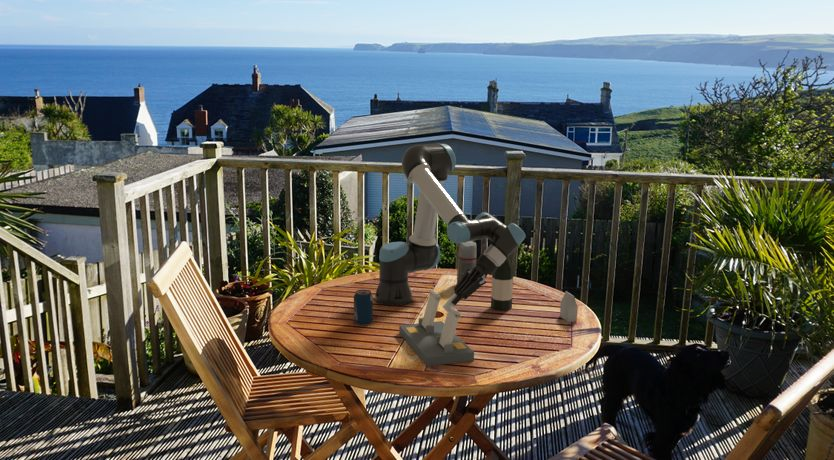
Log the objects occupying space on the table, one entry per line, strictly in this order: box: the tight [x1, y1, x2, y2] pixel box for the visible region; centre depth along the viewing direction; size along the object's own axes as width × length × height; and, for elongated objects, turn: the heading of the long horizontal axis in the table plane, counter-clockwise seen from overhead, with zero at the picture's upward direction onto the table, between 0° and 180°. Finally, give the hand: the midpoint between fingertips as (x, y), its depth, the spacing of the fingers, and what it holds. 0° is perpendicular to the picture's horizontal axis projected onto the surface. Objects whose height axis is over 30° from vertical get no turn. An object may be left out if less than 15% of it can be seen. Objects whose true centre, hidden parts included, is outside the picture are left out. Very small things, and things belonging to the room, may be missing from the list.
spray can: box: [456, 241, 478, 285], centre depth 299 cm, size 8×8×20 cm
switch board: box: [398, 317, 475, 367], centre depth 230 cm, size 16×30×6 cm, turn 18°
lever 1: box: [422, 289, 442, 329], centre depth 237 cm, size 2×6×13 cm, turn 19°
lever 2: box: [439, 306, 461, 348], centre depth 221 cm, size 2×6×13 cm, turn 19°
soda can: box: [353, 289, 374, 326], centre depth 251 cm, size 7×7×12 cm
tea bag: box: [559, 290, 578, 323], centre depth 259 cm, size 4×7×10 cm, turn 14°
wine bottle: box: [490, 257, 515, 312], centre depth 269 cm, size 8×8×30 cm
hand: (445, 309), depth 239 cm, fingers closed
